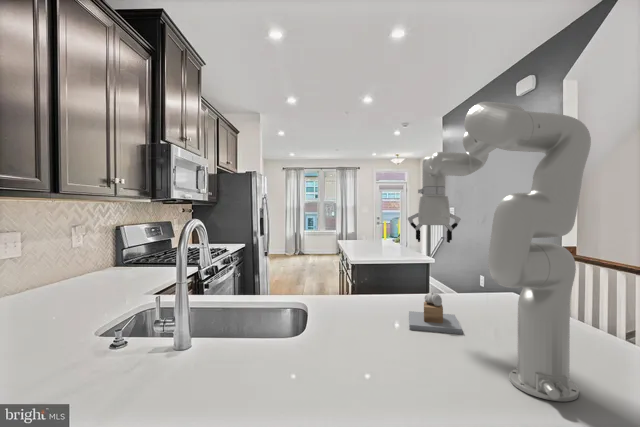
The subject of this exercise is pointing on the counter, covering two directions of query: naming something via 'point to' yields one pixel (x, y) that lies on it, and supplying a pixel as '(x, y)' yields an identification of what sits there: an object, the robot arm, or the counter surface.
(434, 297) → the smooth white sculpture
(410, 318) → the base board
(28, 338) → the counter surface
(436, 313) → the walnut brick
